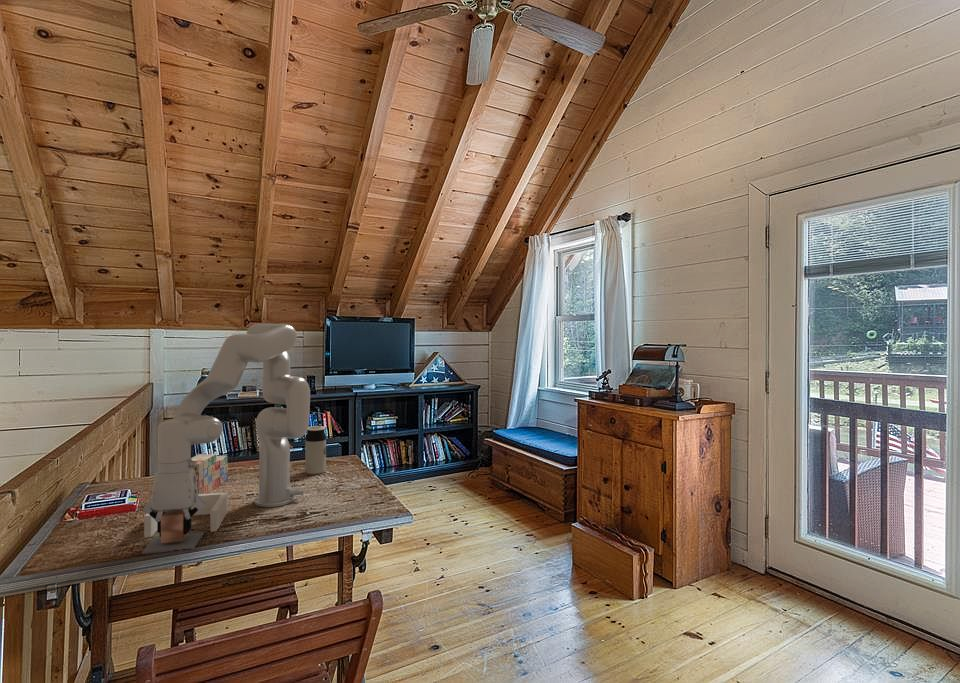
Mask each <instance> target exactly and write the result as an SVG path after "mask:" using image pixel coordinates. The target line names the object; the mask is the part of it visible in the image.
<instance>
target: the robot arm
mask: <svg viewBox="0 0 960 683" xmlns="http://www.w3.org/2000/svg"><path fill="white" fill-rule="evenodd" d="M297 339H298V334H297V331H296V329H295V328H294V327H293V326H292V325H290V324H286V323H270V322H269V323H267V322H266V323H265V322H264V323H255V324H252V325H250V326H249V327H248V328H247V330H246V333H245V334H244V333H239V334H238V333H236V334H232V335H229V336H228V337H227V338H226V339H224V342H223V344H222V346H221V347H220V349H219V351H218V354H217V355H216V358H215V359H214V362H213V364H212V366H211V368H210V370H209V373H208V374H207V376H206V378H205V379H203V380H202V381H200V383H199V384H197V385H196V386H195V387H194V388H193V389H192V390H190V391H189V392H188V393H187V395H186V396H184V398H183V399H182V400H181V402H180V404H179V405H178V407H177V410H176V411H175V413H174V416H173V417H172V419H170V420H165V421H162V422H160V423H159V424H158V426H157V471H156V472H155V474H154V479H153V483H152V488H151V499H150V500H148V502H147V503H146V504H145V505H144V507H142V511H143V512H144V513H146V514H150V516H151V517H153V518H154V519H155V521H156V522H157V531H156V532H157V533H159V534H158V536H159V537H161V516H162V515H163V514H164V513H165V511H166V510H178V509H183V512H184V515H185V519H184V521H183V534H187V533H189V532H190V530H192V517H193V515H194V514H195V513H196V512H197V511H198V510H200V509H201V508H202V507H203V506H204V505H205V502H204V501H203V500H202V499H201V498H200V496H199V495H198V492H197V481H196V475H195V470H194V469H191V467H193V466H196V465H197V461H192V458H193V457H191V456H192V455H191V454H192V445H202V444H203V445H204V444H209V443H213V442H215V441H216V440H218V439H220V437H221V435H222V434H223V430H224V426H223V423H222V421H221V420H220V419H218V418H216V417H214V416H209V415H203V414H202V413H203V411H204V410H205V408H206V407H207V406H208V405H209V404H210V403H211V402H213V401H215V399H217V398H219V397H220V398H221V397H222V396H224V395H227V394H229V393H231V392H233V391H234V390H236V389H237V387H238V386H239V383H240V380H241V378H242V376H243V374H244V372H245V370H246V368H247V366H248V364H249V363H258V364H260V363H262V398H263V400H265V401H266V402H268V403H270V404H275V405H286V406H285V407H286V408H285V407H279V406H278V407H276V406H274V407H272V406H270V407H266V408H264V409H262V410H261V411H260V412H259V413H258V415H257V416H256V421H255V424H256V425H255V426H256V432H257V436H258V443H259V444H258V446H259V452H258V454H259V455H258V456H259V457H258V458H259V460H258V461H259V463H258V464H259V468H258V472H259V473H258V475H259V479H258V495H257V496H255V498H254V499H253V504H254V505H255V506H257V507H260V508H276V507H282V506H286V505H287V504H288V505H289V504H290V503H292V502H293V501H295V496H302V495H304V488H301V487H292V484H291V479H290V478H291V475H290V474H291V469H290V463H291V447H290V445H291V444H290V442H289V440H288V439H293V440H294V439H301V438H303V437H304V436H305V435H306V434H307V429H308V427H310V426H309V425H310V413H311V412H310V411H311V408H310V407H311V389H310V385H309V383H308V382H307V380H306V379H305V378H303V377H301V376H295V375H291V359H290V355H289V352H288V351H290V350H291V349H292V348H294V347H295V345H296V344H297ZM195 502H196V503H197V506H196V507H194V508H193V509H192V508H191V507H192V506H193V505H194V503H195ZM194 516H195V515H194Z"/></svg>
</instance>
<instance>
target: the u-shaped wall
mask: <svg viewBox="0 0 960 683" xmlns="http://www.w3.org/2000/svg"><path fill="white" fill-rule="evenodd" d="M198 495H199V496H200V498H201V499H202V500H203V501H204V502H205V505H204V506H203V507H202V508H201V509H200V510H198V511H197V512H196V513H195V514H194V515H193V516H203V515H205V516H206V515H209V516H210V518H209V519H210V524H209V526H210V528H209V529H210V530H209V532H210V533H211V532H217V531H218V530H219V527H220V526H221V524H222V523H223V520H224V519H225V518H226V516H227V514H228V512H229V492H214V493H207V494H198ZM196 506H197V503H196V502H195V503H194V505H193V506H192V507H191V508H192V509H193V508H194V507H196ZM166 511H167V510H166ZM166 511H165V512H166ZM225 515H226V516H225ZM193 516H192V517H193ZM143 519H144V520H143V521H144V522H143V527H144V528H143V529H144V531H143V535H144V536H143V537H144V538H152V536H154V534H155V533H156V532H157V522H156V521H155V519H154V518H153V517H151V516H150V514H147V513H146V514H144V517H143ZM221 522H222V523H221ZM217 529H218V530H217Z"/></svg>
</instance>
